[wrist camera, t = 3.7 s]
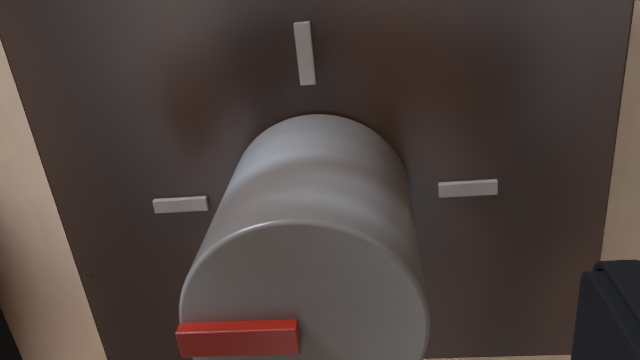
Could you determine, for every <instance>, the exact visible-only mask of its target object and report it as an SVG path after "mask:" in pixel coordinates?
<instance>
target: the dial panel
mask: <svg viewBox="0 0 640 360" xmlns="http://www.w3.org/2000/svg"><path fill="white" fill-rule="evenodd" d="M634 1H635V0H0V39H1V42H2V45H3V48H4V51H5V54H6V57H7V60H8V63H9V66H10V69H11V72H12V75H13V78H14V81H15V84H16V87H17V90H18V93H19V96H20V99H21V102H22V105H23V108H24V111H25V114H26V117H27V120H28V123H29V126H30V129H31V132H32V135H33V138H34V141H35V144H36V147H37V150H38V153H39V156H40V159H41V162H42V165H43V168H44V171H45V174H46V177H47V180H48V183H49V186H50V189H51V192H52V195H53V198H54V201H55V204H56V207H57V210H58V213H59V216H60V219H61V222H62V225H63V228H64V231H65V234H66V237H67V240H68V243H69V246H70V249H71V252H72V255H73V258H74V261H75V264H76V267H77V270H78V273H79V276H80V279H81V282H82V285H83V288H84V291H85V294H86V297H87V300H88V303H89V306H90V309H91V312H92V315H93V318H94V321H95V324H96V327H97V330H98V333H99V336H100V339H101V342H102V345H103V348H104V351H105V354H106V357H107V360H193V358H192V357H184V358H183V357H181V354H180V350H179V346H178V342H177V338H176V334H175V333H176V331H177V328H178V326H179V324H180V320H179V303H180V296H181V291H182V288H183V285H184V282H185V279H186V277H187V275H188V273H189V271H190V268H191V266H192V264H193V262H194V260H195V257H196V255H197V253H198V251H199V249H200V246H201V244H202V242H203V240H204V238H205V235H206V233H207V231H208V229H209V227H210V224H211V222H212V220H213V218H214V216H215V213H216V211H217V209H218V207H219V205H220V202H221V200H222V198H223V196H224V194H225V191H226V189H227V187H228V185H229V183H230V180H231V178H232V176H233V174H234V171H235V169H236V167H237V165H238V163H239V161H240V159H241V157H242V155H243V153H244V152H245V150H246V149H247V148H248V146H249V145H250V144H251V143H252V142H253V141H254V140H255V139H256V138H257V137H258V136H259V135H260V134H261V133H263V132H264V131H265V130H267V129H268V128H270V127H272V126H273V125H275V124H277V123H279V122H282V121H284V120H287V119H290V118H294V117H298V116H303V115H311V114H326V115H334V116H339V117H343V118H348V119H350V120H353V121H356V122H358V123H361V124H362V125H364V126H366V127H368V128H370V129H371V130H373V131H374V132H376V133H377V134H378V135H380V136H381V137H382V138H383V139H384V140H385V141H386V142H387V143H389V145H390V146H391V147H392V148H393V150H394V151H395V152H396V153H397V155H398V157H399V158H400V160H401V162H402V164H403V166H404V168H405V171H406V174H407V178H408V181H409V187H410V193H411V200H412V206H413V212H414V218H415V225H416V231H417V237H418V244H419V250H420V256H421V262H422V269H423V275H424V281H425V288H426V294H427V300H428V307H429V315H430V335H429V340H428V344H427V348H426V351H425V353H424V355H423V358H422V359H429V358H465V357H501V356H537V355H571V353H572V345H573V337H574V329H575V321H576V312H577V304H578V296H579V288H580V280H581V276H582V274H583V273H584V272H589V271H592V270H593V267H594V265H595V263H596V262H598V261H600V258H601V250H602V243H603V235H604V228H605V220H606V212H607V205H608V197H609V190H610V182H611V175H612V167H613V159H614V152H615V144H616V137H617V129H618V122H619V114H620V107H621V99H622V91H623V84H624V76H625V69H626V61H627V54H628V46H629V38H630V31H631V23H632V16H633V8H634Z"/></svg>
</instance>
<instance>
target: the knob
mask: <svg viewBox="0 0 640 360" xmlns="http://www.w3.org/2000/svg"><path fill="white" fill-rule="evenodd" d="M179 320H180V324H179V326H178V328H177V331H176V333H175V334H176V338H177V342H178V346H179V350H180V354H181V357H183V358H184V357H192V358H193V360H422V358H423V355H424V353H425V351H426V348H427V344H428V340H429V335H430V315H429V307H428V300H427V294H426V288H425V281H424V275H423V269H422V262H421V256H420V250H419V244H418V237H417V231H416V225H415V218H414V212H413V206H412V200H411V193H410V187H409V181H408V178H407V174H406V171H405V168H404V166H403V164H402V162H401V160H400V158H399V157H398V155H397V153H396V152H395V151H394V150H393V148H392V147H391V146H390V145H389V143H387V142H386V141H385V140H384V139H383V138H382V137H381V136H380V135H378V134H377V133H376V132H374V131H373V130H371V129H370V128H368V127H366V126H364V125H362V124H361V123H358V122H356V121H353V120H350V119H348V118H343V117H339V116H334V115H326V114H311V115H303V116H298V117H294V118H290V119H287V120H284V121H282V122H279V123H277V124H275V125H273V126H272V127H270V128H268V129H267V130H265V131H264V132H263V133H261V134H260V135H259V136H258V137H257V138H256V139H255V140H254V141H253V142H252V143H251V144H250V145H249V146H248V148H247V149H246V150H245V152H244V153H243V155H242V157H241V159H240V161H239V163H238V165H237V167H236V169H235V171H234V174H233V176H232V178H231V180H230V183H229V185H228V187H227V189H226V191H225V194H224V196H223V198H222V200H221V202H220V205H219V207H218V209H217V211H216V213H215V216H214V218H213V220H212V222H211V224H210V227H209V229H208V231H207V233H206V235H205V238H204V240H203V242H202V244H201V246H200V249H199V251H198V253H197V255H196V257H195V260H194V262H193V264H192V266H191V268H190V271H189V273H188V275H187V277H186V279H185V282H184V285H183V288H182V291H181V296H180V303H179Z"/></svg>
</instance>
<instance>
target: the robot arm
mask: <svg viewBox="0 0 640 360" xmlns="http://www.w3.org/2000/svg"><path fill="white" fill-rule="evenodd" d="M0 360H23V359H22V357H21V355H20V352H19V350H18V348H17V345H16V343H15V341H14V338H13V336H12V334H11V331H10V329H9V327H8V324H7V322H6V320H5V317H4V315H3V313H2V310H1V308H0ZM571 360H640V261H639V260H616V261H598V262H596V263H595V265H594V267H593V270H592V271H589V272H584V273H583V274H582V276H581V280H580V288H579V296H578V304H577V312H576V321H575V329H574V337H573V345H572V353H571Z"/></svg>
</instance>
